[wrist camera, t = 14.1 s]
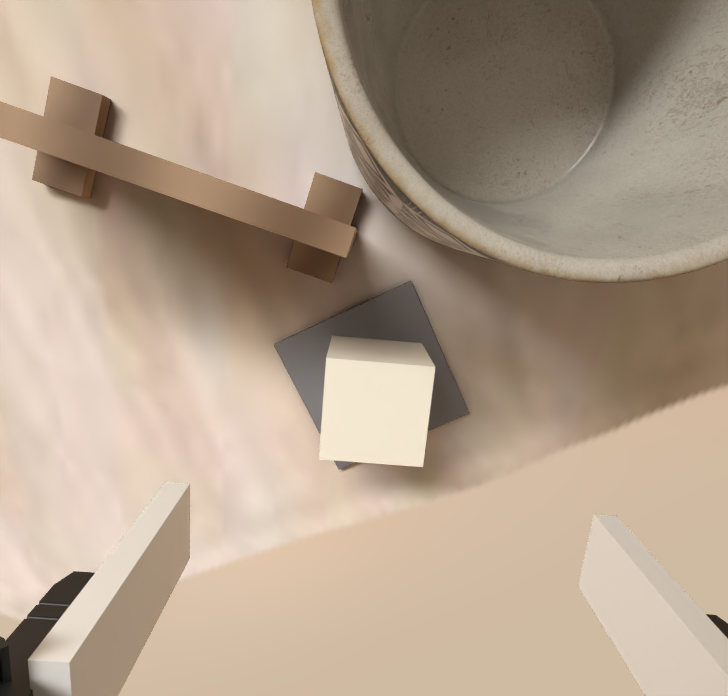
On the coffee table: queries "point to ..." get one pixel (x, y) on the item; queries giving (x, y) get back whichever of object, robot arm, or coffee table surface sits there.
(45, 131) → the walnut screen
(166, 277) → the coffee table surface
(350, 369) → the cream cube
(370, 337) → the mat
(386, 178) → the planter
